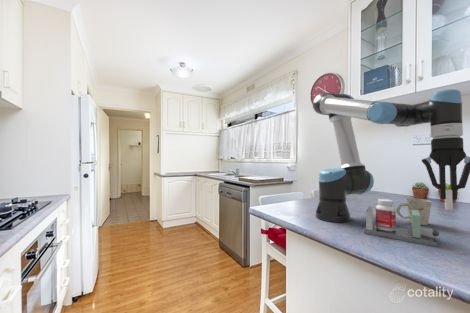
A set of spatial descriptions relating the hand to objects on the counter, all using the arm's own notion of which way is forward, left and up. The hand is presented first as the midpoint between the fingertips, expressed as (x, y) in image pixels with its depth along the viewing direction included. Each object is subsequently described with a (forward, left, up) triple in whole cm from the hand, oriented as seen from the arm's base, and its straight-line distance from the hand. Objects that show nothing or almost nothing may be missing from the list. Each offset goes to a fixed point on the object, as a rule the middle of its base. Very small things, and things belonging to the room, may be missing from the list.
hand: (448, 209), depth 69 cm
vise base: (-13, 0, -12) cm, 18 cm away
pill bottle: (-17, 0, -10) cm, 20 cm away
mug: (-8, +23, -12) cm, 27 cm away
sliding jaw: (-6, 0, -10) cm, 12 cm away
